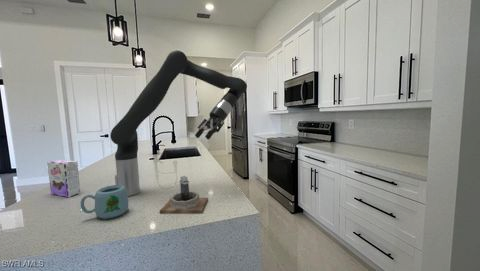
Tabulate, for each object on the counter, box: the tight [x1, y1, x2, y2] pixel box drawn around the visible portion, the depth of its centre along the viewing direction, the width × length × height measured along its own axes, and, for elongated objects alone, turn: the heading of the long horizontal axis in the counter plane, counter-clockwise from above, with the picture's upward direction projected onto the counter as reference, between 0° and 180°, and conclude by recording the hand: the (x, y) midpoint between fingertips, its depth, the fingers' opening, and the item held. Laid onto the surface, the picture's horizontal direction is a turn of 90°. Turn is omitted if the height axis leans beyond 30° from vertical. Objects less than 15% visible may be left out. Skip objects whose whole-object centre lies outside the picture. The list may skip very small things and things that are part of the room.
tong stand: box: [159, 191, 209, 215], centre depth 85 cm, size 16×12×4 cm
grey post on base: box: [178, 175, 193, 201], centre depth 84 cm, size 6×6×11 cm
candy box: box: [46, 159, 81, 198], centre depth 102 cm, size 14×6×16 cm, turn 68°
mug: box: [79, 184, 130, 220], centre depth 79 cm, size 15×11×10 cm
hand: (201, 137), depth 94 cm, fingers open, 8 cm apart
